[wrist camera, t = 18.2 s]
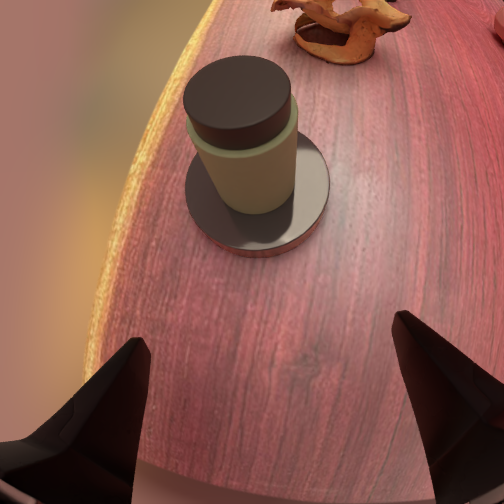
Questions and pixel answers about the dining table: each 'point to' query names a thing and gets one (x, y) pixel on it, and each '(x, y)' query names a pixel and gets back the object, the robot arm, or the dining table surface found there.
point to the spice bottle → (245, 130)
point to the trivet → (267, 224)
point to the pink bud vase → (499, 23)
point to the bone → (346, 27)
